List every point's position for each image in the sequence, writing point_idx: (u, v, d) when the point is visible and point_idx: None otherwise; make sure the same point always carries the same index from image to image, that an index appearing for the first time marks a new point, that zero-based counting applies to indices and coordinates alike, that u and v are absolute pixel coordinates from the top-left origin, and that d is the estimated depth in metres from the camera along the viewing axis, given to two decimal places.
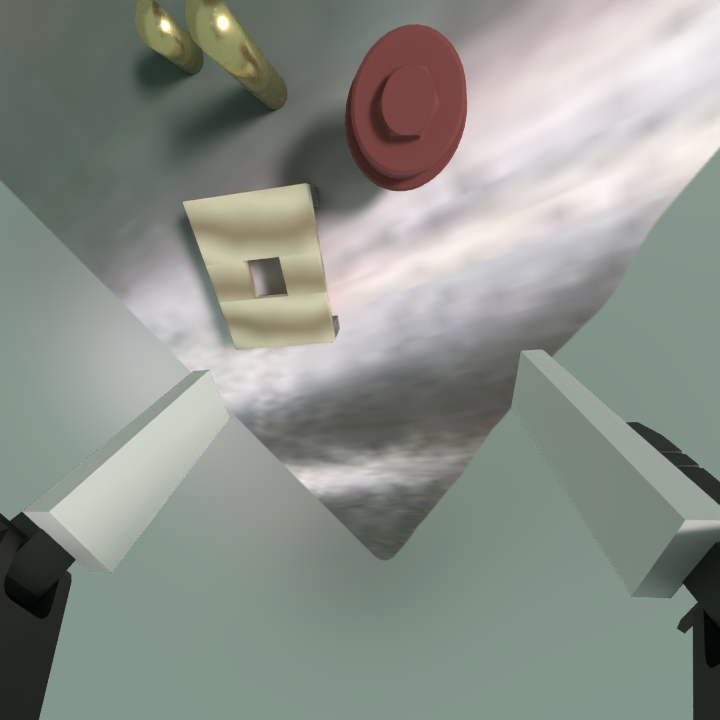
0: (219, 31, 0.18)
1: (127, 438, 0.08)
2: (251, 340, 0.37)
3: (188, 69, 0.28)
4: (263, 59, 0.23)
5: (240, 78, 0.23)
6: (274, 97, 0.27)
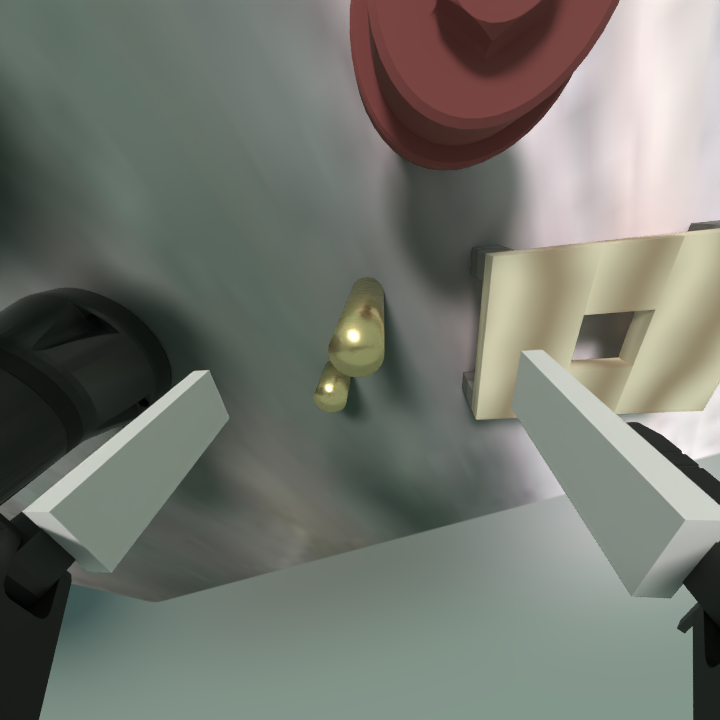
0: (365, 341, 0.14)
1: (127, 438, 0.08)
2: (701, 384, 0.22)
3: None
4: (360, 296, 0.19)
5: None
6: (380, 291, 0.23)
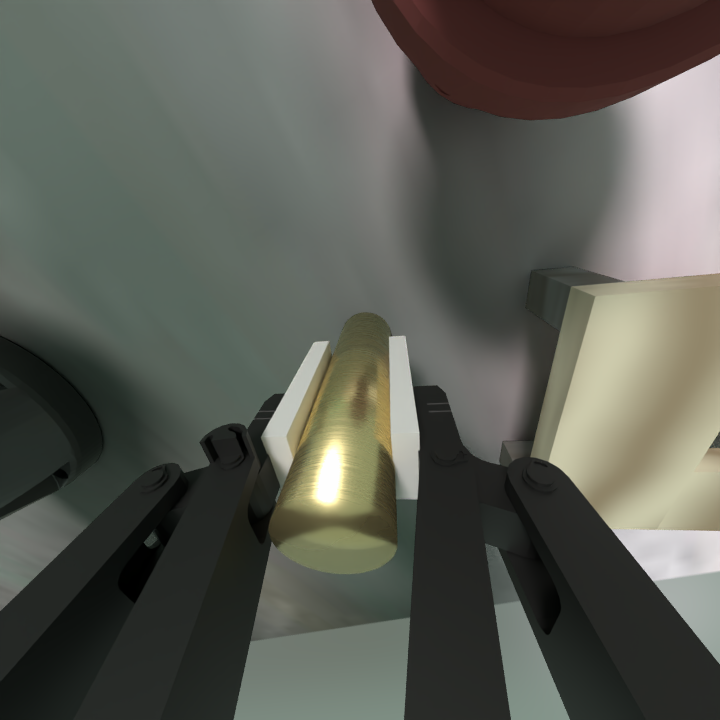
0: (353, 524, 0.06)
1: (302, 389, 0.10)
2: None
3: None
4: (351, 361, 0.11)
5: None
6: (386, 339, 0.14)
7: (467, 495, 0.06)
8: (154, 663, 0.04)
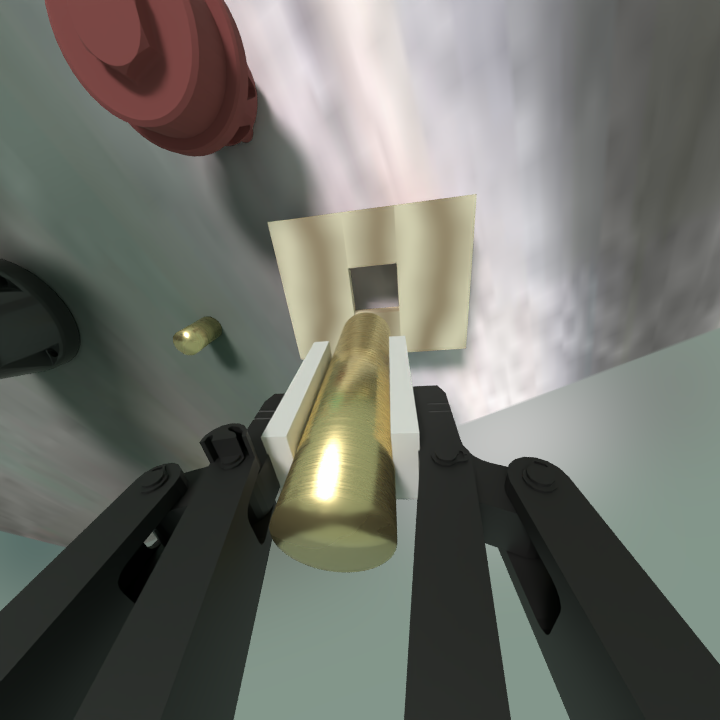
0: (353, 522, 0.06)
1: (302, 389, 0.10)
2: (455, 325, 0.28)
3: (217, 329, 0.35)
4: (351, 361, 0.11)
5: None
6: (386, 339, 0.14)
7: (467, 495, 0.06)
8: (153, 663, 0.04)
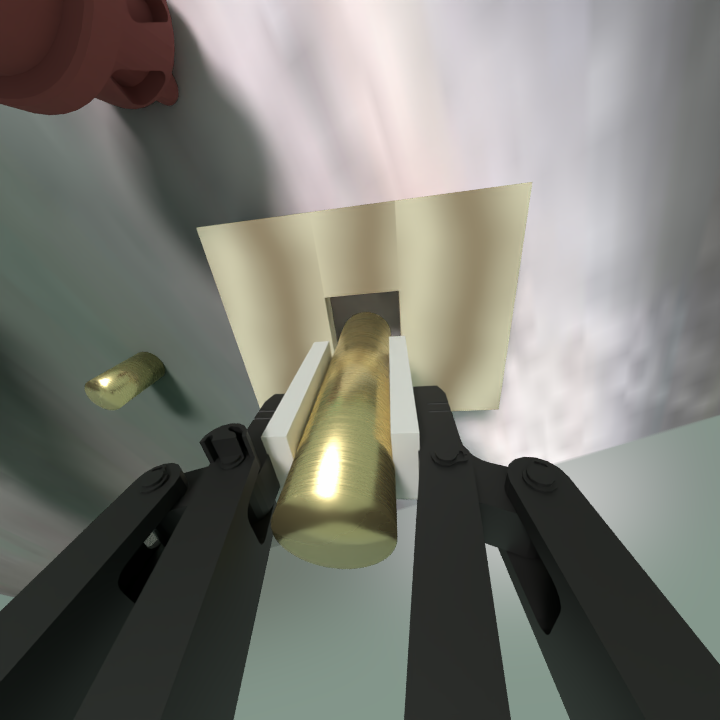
0: (354, 519, 0.06)
1: (302, 389, 0.10)
2: (485, 379, 0.19)
3: (155, 369, 0.26)
4: (351, 360, 0.11)
5: None
6: (386, 339, 0.14)
7: (467, 495, 0.06)
8: (154, 664, 0.04)
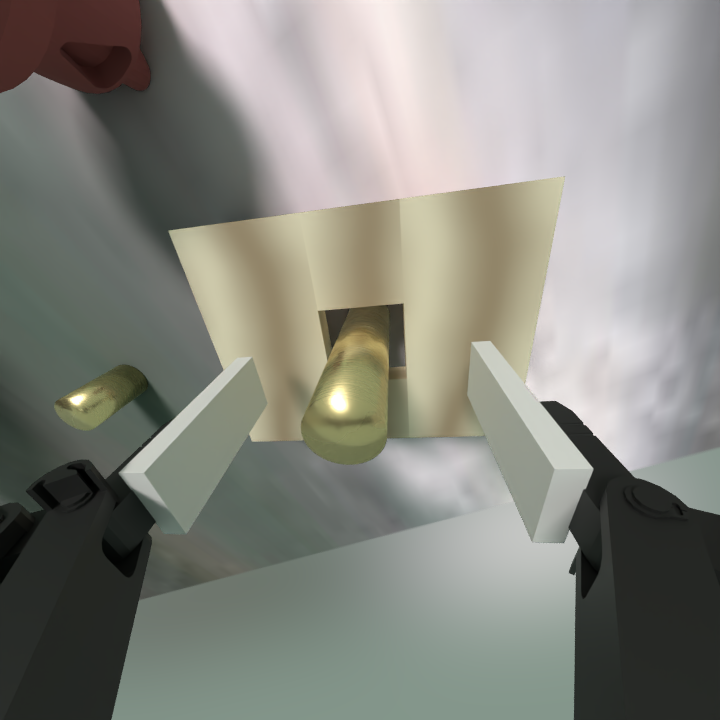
0: (357, 419, 0.09)
1: (194, 414, 0.09)
2: None
3: (136, 384, 0.24)
4: (356, 329, 0.14)
5: None
6: (385, 317, 0.17)
7: (696, 567, 0.04)
8: None
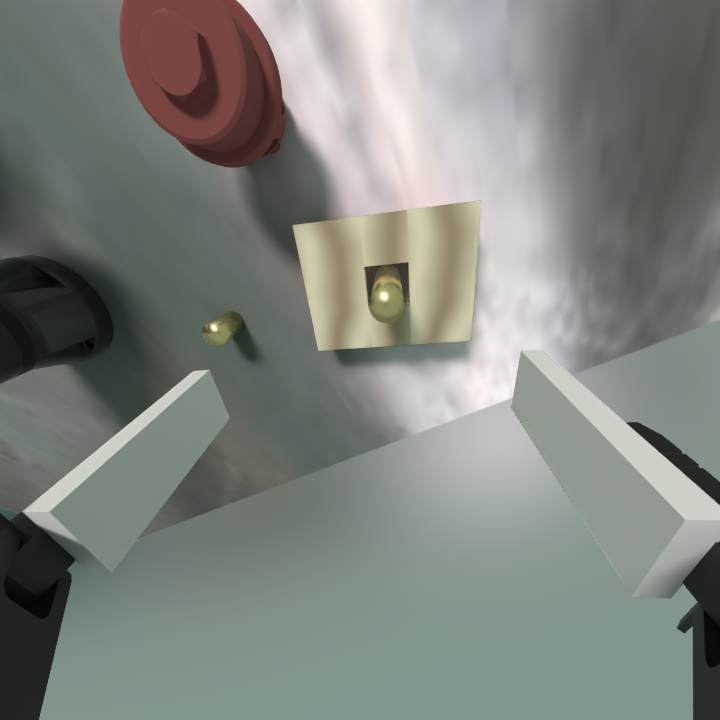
0: (393, 298, 0.23)
1: (127, 438, 0.08)
2: (461, 319, 0.30)
3: (240, 323, 0.38)
4: (385, 274, 0.28)
5: None
6: (398, 274, 0.31)
7: None
8: None
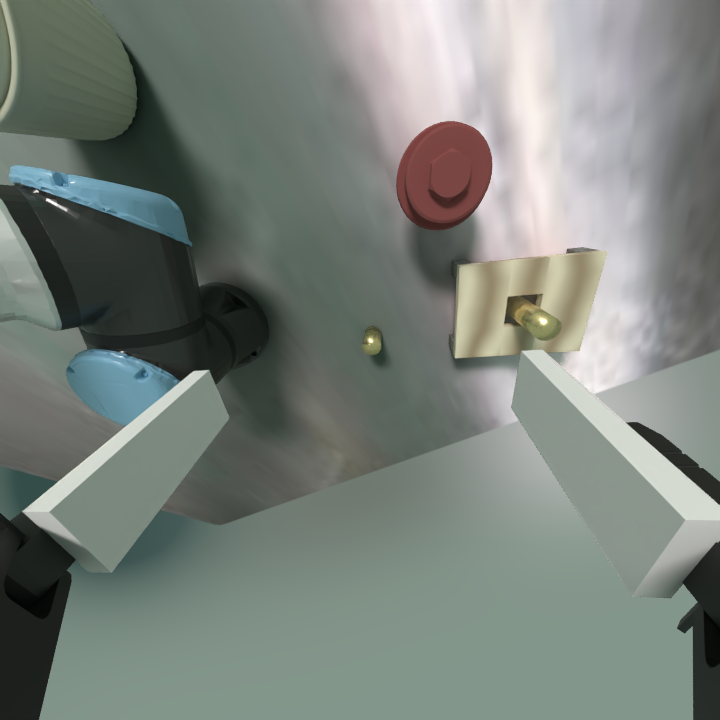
0: (554, 323, 0.33)
1: (127, 438, 0.08)
2: (575, 334, 0.40)
3: None
4: (527, 303, 0.37)
5: None
6: None
7: None
8: None
